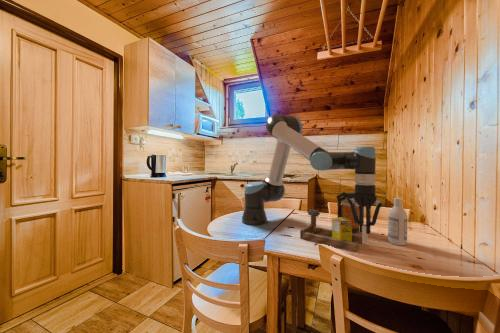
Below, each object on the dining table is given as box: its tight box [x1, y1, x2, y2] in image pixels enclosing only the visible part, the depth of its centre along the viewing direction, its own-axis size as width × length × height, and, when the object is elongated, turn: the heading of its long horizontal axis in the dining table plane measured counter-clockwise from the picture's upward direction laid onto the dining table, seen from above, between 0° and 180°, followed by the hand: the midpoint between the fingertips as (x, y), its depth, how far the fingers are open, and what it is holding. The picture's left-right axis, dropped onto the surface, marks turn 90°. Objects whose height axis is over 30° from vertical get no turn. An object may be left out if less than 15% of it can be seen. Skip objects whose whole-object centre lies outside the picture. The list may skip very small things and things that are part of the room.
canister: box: [335, 191, 360, 233], centre depth 112 cm, size 9×11×20 cm
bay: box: [299, 208, 363, 253], centre depth 100 cm, size 26×15×11 cm, turn 50°
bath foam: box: [387, 197, 409, 246], centre depth 95 cm, size 7×7×20 cm
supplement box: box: [331, 216, 353, 243], centre depth 95 cm, size 6×6×11 cm
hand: (364, 240), depth 89 cm, fingers closed
